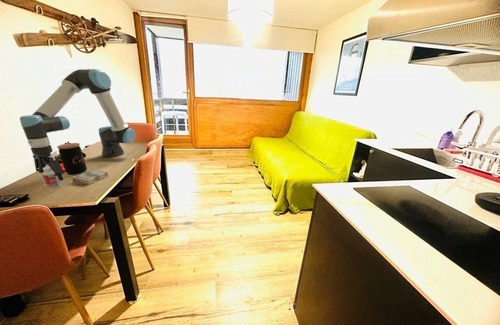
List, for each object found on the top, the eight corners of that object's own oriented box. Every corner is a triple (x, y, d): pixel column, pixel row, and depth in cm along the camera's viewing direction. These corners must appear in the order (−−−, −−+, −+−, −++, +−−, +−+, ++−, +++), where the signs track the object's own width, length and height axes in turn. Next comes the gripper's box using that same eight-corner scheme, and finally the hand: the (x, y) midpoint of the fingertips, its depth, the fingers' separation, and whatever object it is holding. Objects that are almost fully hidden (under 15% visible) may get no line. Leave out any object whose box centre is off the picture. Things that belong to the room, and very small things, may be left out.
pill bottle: (51, 189, 108) (44, 170, 104) (45, 187, 110) (37, 168, 106) (65, 184, 113) (58, 166, 110) (58, 182, 116) (52, 164, 112)
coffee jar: (78, 175, 125) (69, 147, 119) (61, 175, 125) (51, 147, 119) (91, 168, 135) (83, 143, 129) (75, 168, 135) (67, 142, 129)
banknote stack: (93, 174, 127) (92, 169, 126) (108, 176, 124) (107, 171, 123) (73, 182, 116) (71, 176, 115) (89, 184, 113) (87, 179, 112)
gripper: (16, 146, 103) (32, 184, 111) (47, 149, 98) (62, 190, 105) (34, 142, 110) (48, 178, 118) (64, 145, 104) (77, 183, 112)
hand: (54, 184), depth 112 cm, fingers open, 10 cm apart
